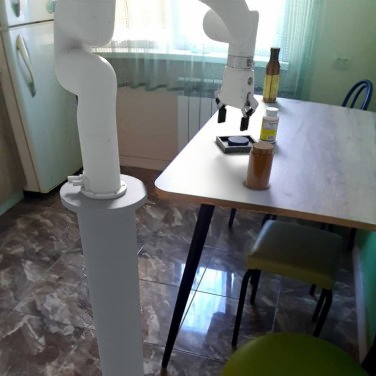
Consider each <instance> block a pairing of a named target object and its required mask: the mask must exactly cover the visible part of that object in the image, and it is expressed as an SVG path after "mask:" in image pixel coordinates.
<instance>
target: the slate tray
mask: <svg viewBox="0 0 376 376" xmlns="http://www.w3.org/2000/svg"><path fill="white" fill-rule="evenodd" d="M232 136H233V135H216V137H215V142H216V144H217V145H218V146H219V148H220V149H221V150H222V151H223V153H224V154H237V153H240V154H241V153H250V150H251V149H252V148H251V147H252V144H253V143H256V142H258V141H257V140H256V139H255V138H254V137H253V136H252V135H251V134H241V135H240V134H239V135H234V136H242V137H246V138H248V139H249V144H248V146H234V147H230V146H228V138H229V137H232Z"/></svg>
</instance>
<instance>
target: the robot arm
mask: <svg viewBox="0 0 376 376" xmlns="http://www.w3.org/2000/svg"><path fill="white" fill-rule="evenodd" d="M198 1H199V2H201V3H202V4H204V5H206V6H207V7H208V8H209V9H207V11H206V12H205V13H204V16H203V19H202V30H203V32H204V34H205V35H206V36H207V38H208V39H210V40H212V41H215V42H220V43H224V44H228V49H227V58H226V66H224V70H223V74H222V79H221V85H220V88H218V89H216V90H214V91H213V94H214V98H215V99H214V101H215V103H216V108H217V110H218V112H217V120H216V121H217V122H216V123H217V124H223V123H226V122H227V121H226V120H227V112H228V111H227V108H226V107H227V106H228V107H231V108H235V109H238V110H240V111H241V114H242V116H241V117H240V124H239V131H240V132H245V131H248V129H249V126H250V125H249V124H250V118H251V117H252V116H253V114H255V112H256V110H257V108H258V107H259V103H260V102H259V101H258V100H257V99H256V98H255V84H256V83H255V79H256V77H255V76H256V75H255V69H253V67H255V65H256V61H255V60H254V59H255V53H256V51H255V50H256V43H257V37H258V36H257V35H258V30H259V22H260V21H259V20H260V12H259V11H258V10H257V9H256V8H251V7H249V6H248V4H247V2H246V0H198ZM116 6H117V0H56V2H55V6H54V12H53V65H54V66H53V67H54V73H55V77H56V79H57V81H58V83H59V84H60V86H61V88H63V89H64V90H66V91H68V92H69V93H71V94H73V95H75V96H77V108H76V124H77V131H78V138H79V144H80V152H81V160H82V168H83V170H82V174H79V175H68V176H67V182H68V183H69V184H72V183H73V186H81V187H80V189H81V193H82V194H83V195H84V196H86V197H89V198H92V199H99V200H105V199H113V198H117V197H120V196H122V195H123V194H125V193H126V191H127V185H126V183H125V182H123V181H122V180H121V178H120V174H121V168H120V167H121V166H120V154H119V139H118V129H117V127H118V126H117V114H116V113H117V110H116V109H117V108H116V107H117V105H116V104H117V93H118V79H117V74H116V71H115V69H114V67H113V65H111V63H110V62H109V61H108V60H107V59H106V58H104V57H103V56H101V55H99V54H96V53H93V52H92V51H93V49H92V48H93V47H97V48H101V47H105V46H107V45H108V44H109V43H110V42H111V41H112V39H113V36H114V32H115V26H116V25H115V23H116V8H117V7H116Z"/></svg>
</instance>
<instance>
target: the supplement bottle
mask: <svg viewBox="0 0 376 376" xmlns="http://www.w3.org/2000/svg"><path fill="white" fill-rule="evenodd" d="M278 114H279V108H277V107H270V106H269V107H266V109H265V113H264V114H263V115H262V118H261V127H260V133H259V142H266V143H270V144H273V143H275V142H276V140H277V135H278V134H277V133H278V128H279V123H280V116H279V115H278Z"/></svg>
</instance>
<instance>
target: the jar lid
mask: <svg viewBox="0 0 376 376" xmlns="http://www.w3.org/2000/svg"><path fill="white" fill-rule="evenodd" d="M231 136H232V137H229V138H228V146H230V147H234V146H248V144H249V139H248V138H246V137H242V136H235V135H231Z"/></svg>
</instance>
